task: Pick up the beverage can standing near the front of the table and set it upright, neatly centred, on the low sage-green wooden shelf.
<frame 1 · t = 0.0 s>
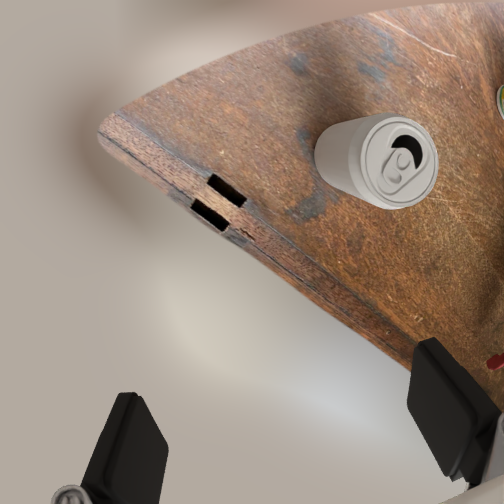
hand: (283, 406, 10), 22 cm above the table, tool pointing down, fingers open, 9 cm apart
beverage can: (344, 156, 29), on the table
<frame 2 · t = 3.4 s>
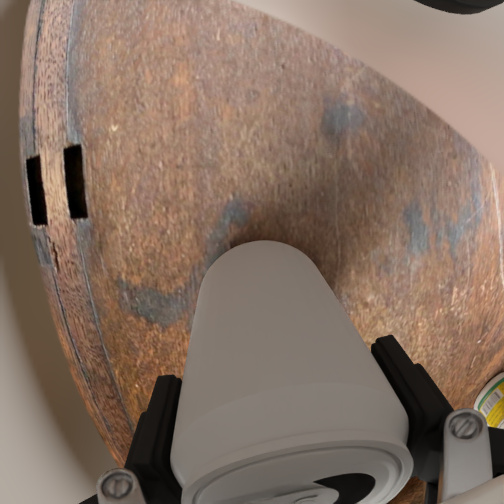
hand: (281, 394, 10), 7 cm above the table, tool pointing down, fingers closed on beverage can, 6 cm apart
supplement bottle: (492, 391, 21), on the table
beverage can: (260, 292, 17), on the table, touching gripper
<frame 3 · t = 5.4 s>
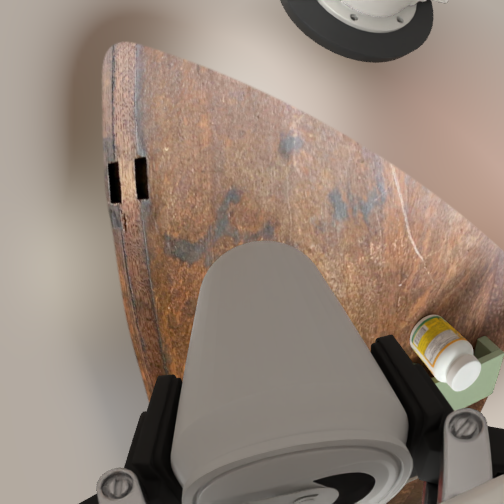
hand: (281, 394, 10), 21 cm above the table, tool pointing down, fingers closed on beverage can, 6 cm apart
supplement bottle: (426, 331, 35), on the table
shelf: (444, 371, 37), on the table
beverage can: (260, 292, 17), point 14 cm above the table, touching gripper
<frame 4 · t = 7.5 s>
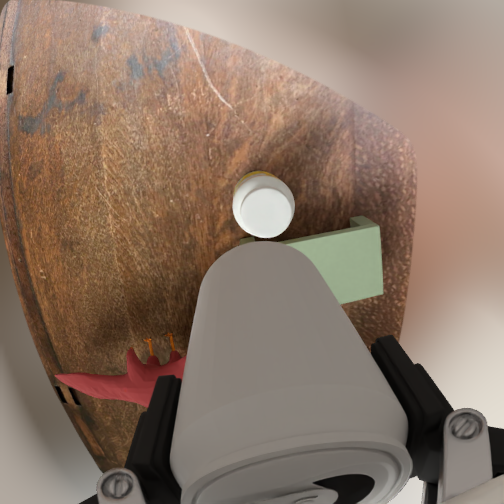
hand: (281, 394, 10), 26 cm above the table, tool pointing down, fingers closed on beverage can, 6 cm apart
supplement bottle: (259, 195, 34), on the table
decorative bird sculpture: (169, 350, 40), on the table
shelf: (307, 258, 36), on the table
beverage can: (260, 293, 17), point 18 cm above the table, touching gripper
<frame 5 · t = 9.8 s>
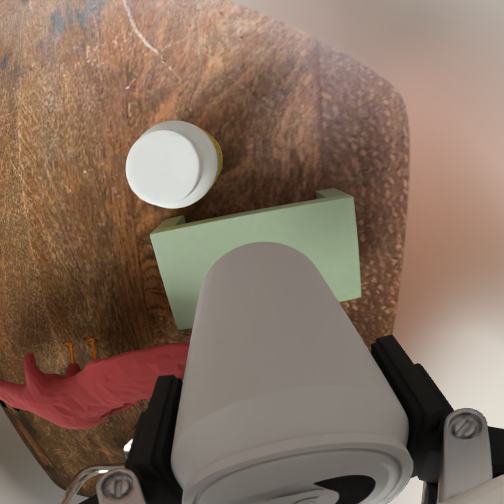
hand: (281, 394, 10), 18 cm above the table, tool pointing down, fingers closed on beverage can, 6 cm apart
supplement bottle: (190, 160, 25), on the table
light fixture: (177, 442, 34), on the table
decorative bird sculpture: (96, 358, 30), on the table
shelf: (257, 246, 27), on the table
beverage can: (260, 293, 17), point 10 cm above the table, touching gripper
when the fingers open (12 cm above the table, at t = 11.6 s): beverage can stays where it is, resting on shelf.
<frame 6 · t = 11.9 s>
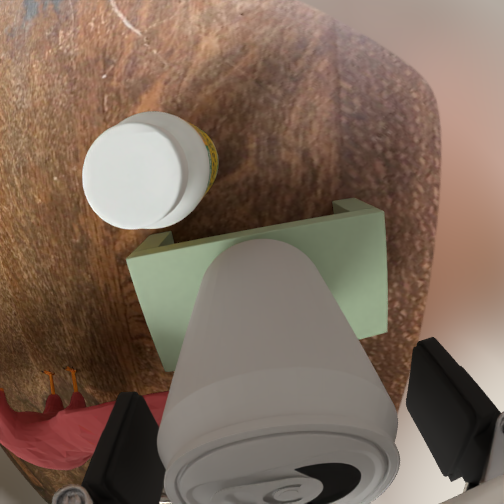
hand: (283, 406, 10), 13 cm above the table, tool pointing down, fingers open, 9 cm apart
supplement bottle: (178, 163, 20), on the table
decorative bird sculpture: (79, 388, 26), on the table
shelf: (261, 269, 22), on the table
beverage can: (260, 291, 17), point 5 cm above the table, touching shelf
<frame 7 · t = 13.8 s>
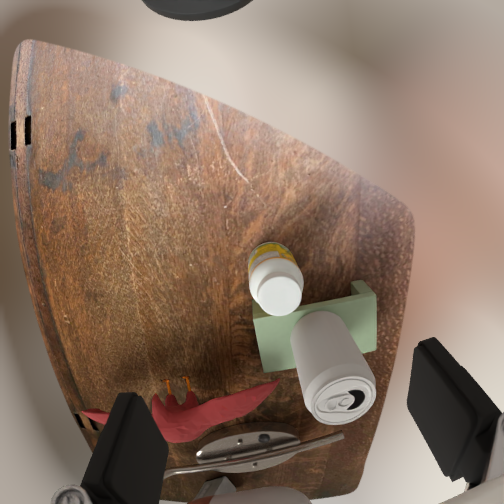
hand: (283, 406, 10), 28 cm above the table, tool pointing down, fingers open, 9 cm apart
supplement bottle: (270, 262, 38), on the table
light fixture: (237, 445, 47), on the table
decorative bird sculpture: (184, 389, 43), on the table
shelf: (311, 316, 40), on the table
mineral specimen: (214, 482, 51), on the table
beverage can: (316, 332, 36), point 5 cm above the table, touching shelf
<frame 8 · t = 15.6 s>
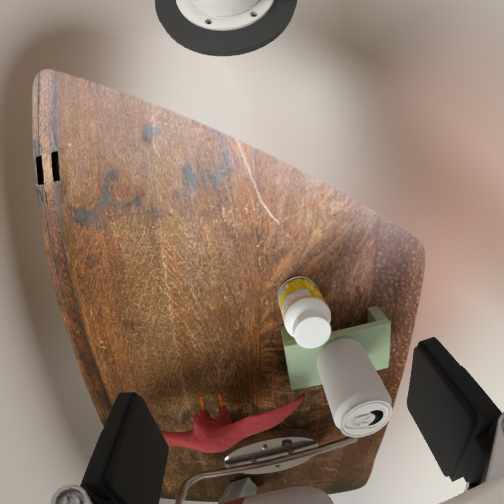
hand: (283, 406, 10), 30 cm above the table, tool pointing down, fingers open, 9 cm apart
supplement bottle: (298, 293, 42), on the table
light fixture: (261, 449, 52), on the table
decorative bird sculpture: (215, 403, 48), on the table
shelf: (332, 338, 44), on the table
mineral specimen: (237, 483, 55), on the table
beverage can: (338, 354, 39), point 5 cm above the table, touching shelf
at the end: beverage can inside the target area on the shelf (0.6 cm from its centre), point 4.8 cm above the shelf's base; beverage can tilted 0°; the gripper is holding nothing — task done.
